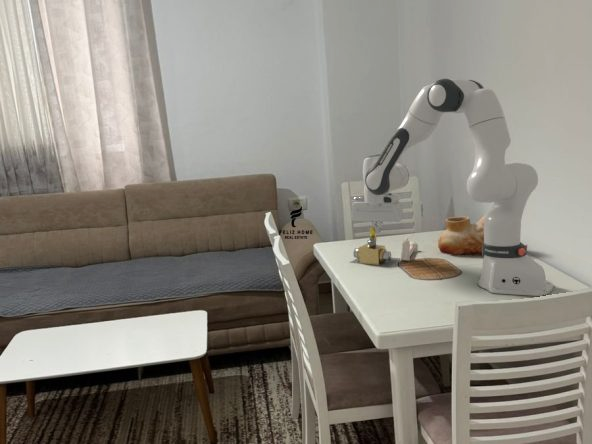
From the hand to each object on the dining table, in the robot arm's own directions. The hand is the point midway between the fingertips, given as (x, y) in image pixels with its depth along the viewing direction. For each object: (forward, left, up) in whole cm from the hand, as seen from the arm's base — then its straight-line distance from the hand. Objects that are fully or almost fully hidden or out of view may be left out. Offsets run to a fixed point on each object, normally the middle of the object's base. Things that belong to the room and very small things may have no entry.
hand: (377, 232), depth 238 cm
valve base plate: (-1, +5, -10) cm, 11 cm away
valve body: (-1, +8, -10) cm, 13 cm away
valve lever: (0, +4, -4) cm, 6 cm away
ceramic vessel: (-30, -21, -10) cm, 38 cm away
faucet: (-10, -6, -11) cm, 16 cm away
